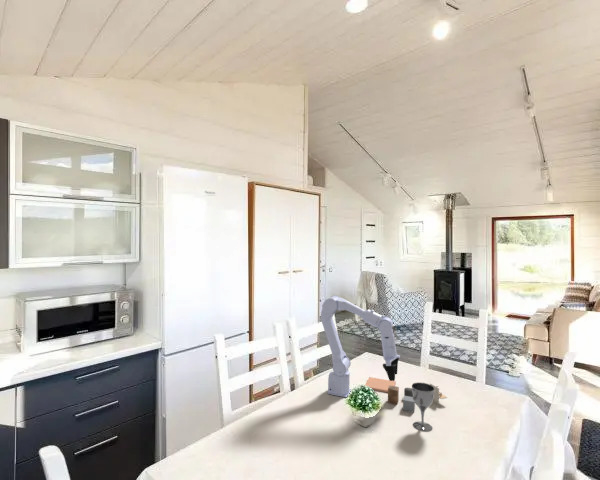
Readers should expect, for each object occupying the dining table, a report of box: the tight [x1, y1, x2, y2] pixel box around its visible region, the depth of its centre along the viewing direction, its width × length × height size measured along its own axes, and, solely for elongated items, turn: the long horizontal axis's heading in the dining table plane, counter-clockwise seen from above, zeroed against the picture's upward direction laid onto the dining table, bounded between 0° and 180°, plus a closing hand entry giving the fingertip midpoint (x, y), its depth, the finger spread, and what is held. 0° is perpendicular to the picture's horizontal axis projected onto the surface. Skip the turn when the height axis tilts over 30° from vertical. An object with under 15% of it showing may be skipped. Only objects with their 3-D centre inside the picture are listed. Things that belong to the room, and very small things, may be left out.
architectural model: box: [429, 383, 448, 405], centre depth 150 cm, size 3×7×7 cm, turn 19°
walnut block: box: [387, 385, 400, 405], centre depth 150 cm, size 4×4×6 cm
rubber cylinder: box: [403, 387, 413, 397], centre depth 153 cm, size 4×4×4 cm
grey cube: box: [402, 396, 416, 413], centre depth 144 cm, size 4×4×4 cm
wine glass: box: [411, 382, 434, 433], centre depth 130 cm, size 8×8×15 cm
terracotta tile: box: [364, 376, 397, 394], centre depth 166 cm, size 13×12×1 cm
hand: (393, 377), depth 150 cm, fingers open, 7 cm apart
